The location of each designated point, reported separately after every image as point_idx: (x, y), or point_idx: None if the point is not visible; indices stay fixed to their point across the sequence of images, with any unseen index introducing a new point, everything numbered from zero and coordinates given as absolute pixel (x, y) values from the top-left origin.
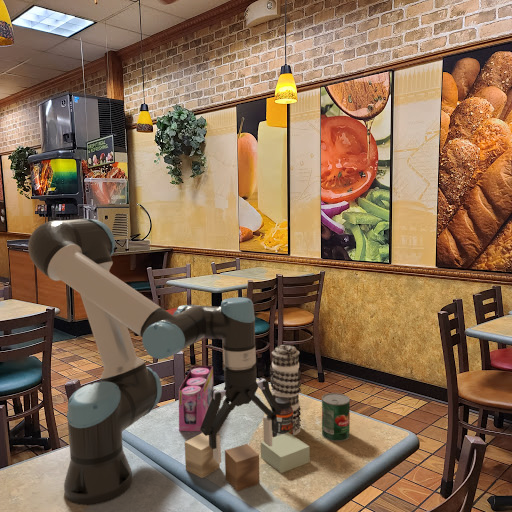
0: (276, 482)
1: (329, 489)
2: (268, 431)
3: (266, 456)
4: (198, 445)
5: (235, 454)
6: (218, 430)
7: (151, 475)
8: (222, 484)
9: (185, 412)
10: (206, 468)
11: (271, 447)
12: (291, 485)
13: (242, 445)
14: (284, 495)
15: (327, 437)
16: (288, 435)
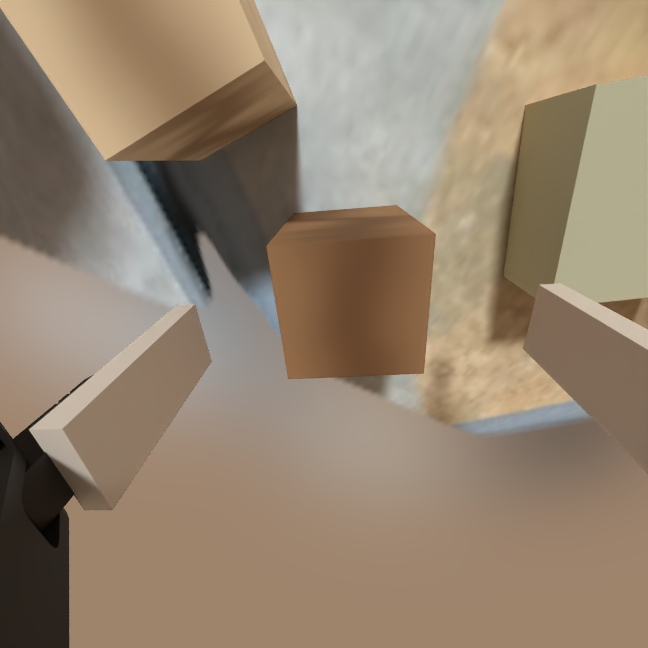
0: (459, 304)
1: (567, 400)
2: (592, 406)
3: (538, 166)
4: (81, 71)
5: (311, 317)
6: (62, 558)
7: None
8: (275, 225)
9: None
10: (206, 144)
11: (591, 196)
12: (490, 339)
13: (396, 242)
14: (436, 369)
15: None
16: None
